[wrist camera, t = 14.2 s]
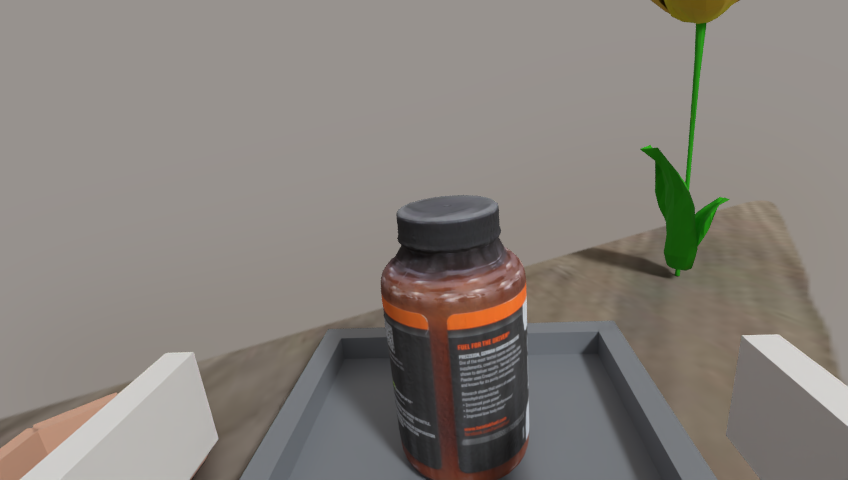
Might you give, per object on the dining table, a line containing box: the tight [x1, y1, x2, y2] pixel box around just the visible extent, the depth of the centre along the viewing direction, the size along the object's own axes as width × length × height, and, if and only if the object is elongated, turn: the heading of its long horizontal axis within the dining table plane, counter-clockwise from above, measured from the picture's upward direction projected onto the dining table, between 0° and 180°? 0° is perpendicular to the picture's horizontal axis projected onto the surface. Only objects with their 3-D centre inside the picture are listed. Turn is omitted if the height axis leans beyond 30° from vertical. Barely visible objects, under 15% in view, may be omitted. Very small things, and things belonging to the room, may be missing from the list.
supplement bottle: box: [381, 195, 529, 480], centre depth 19 cm, size 6×6×11 cm
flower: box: [641, 0, 739, 276], centre depth 33 cm, size 9×8×30 cm
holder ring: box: [0, 392, 208, 480], centre depth 21 cm, size 10×10×2 cm
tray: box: [240, 321, 717, 480], centre depth 20 cm, size 18×16×2 cm
